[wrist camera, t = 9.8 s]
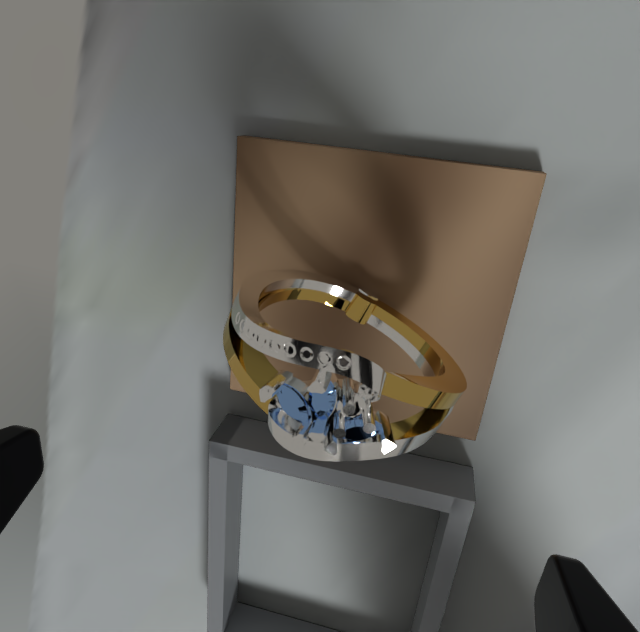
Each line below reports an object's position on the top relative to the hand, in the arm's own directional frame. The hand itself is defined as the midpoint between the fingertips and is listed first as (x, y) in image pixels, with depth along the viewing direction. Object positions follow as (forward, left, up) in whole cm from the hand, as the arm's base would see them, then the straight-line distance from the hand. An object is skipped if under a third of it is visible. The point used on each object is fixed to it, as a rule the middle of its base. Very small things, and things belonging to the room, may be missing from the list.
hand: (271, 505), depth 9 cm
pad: (0, 0, -11) cm, 11 cm away
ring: (0, 0, -11) cm, 11 cm away
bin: (0, +13, -11) cm, 17 cm away
